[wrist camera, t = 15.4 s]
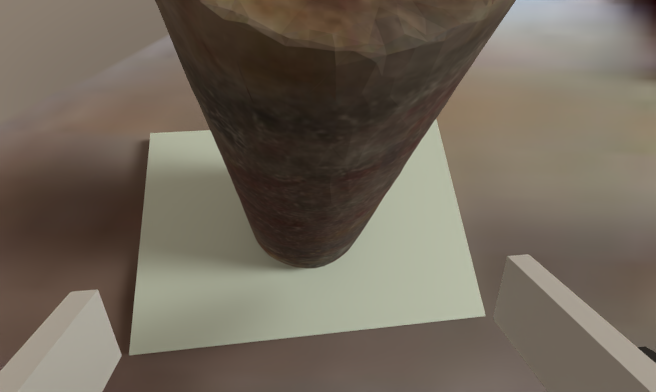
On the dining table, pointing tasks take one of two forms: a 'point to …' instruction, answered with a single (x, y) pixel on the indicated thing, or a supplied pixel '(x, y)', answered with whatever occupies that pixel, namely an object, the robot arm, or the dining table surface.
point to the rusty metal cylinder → (322, 102)
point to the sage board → (284, 280)
